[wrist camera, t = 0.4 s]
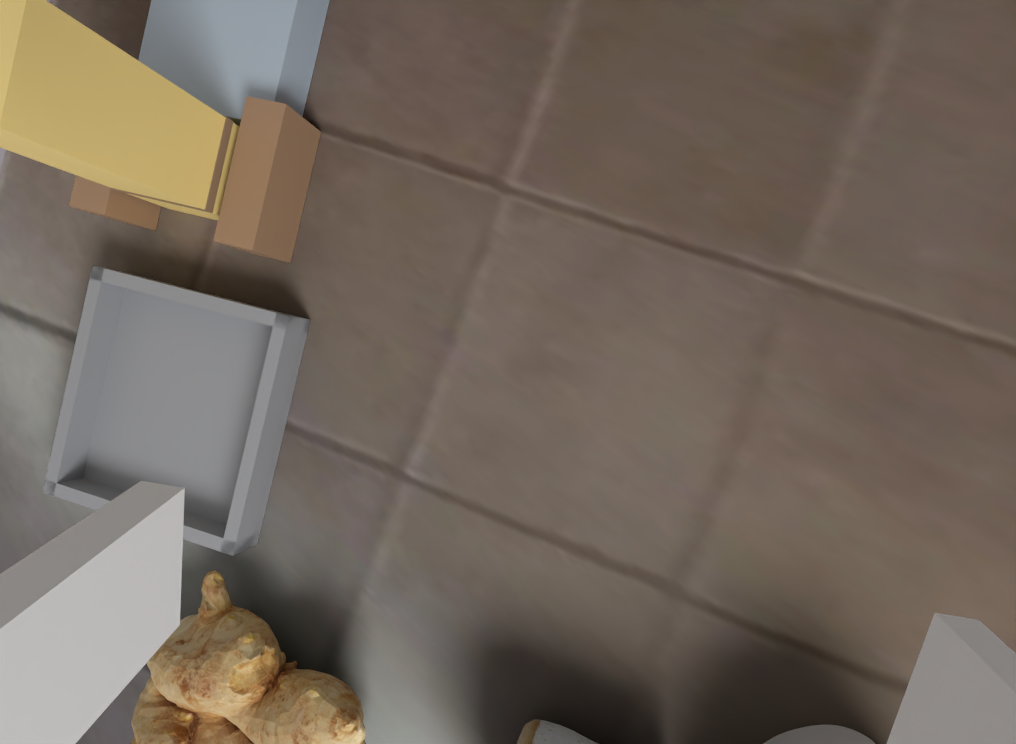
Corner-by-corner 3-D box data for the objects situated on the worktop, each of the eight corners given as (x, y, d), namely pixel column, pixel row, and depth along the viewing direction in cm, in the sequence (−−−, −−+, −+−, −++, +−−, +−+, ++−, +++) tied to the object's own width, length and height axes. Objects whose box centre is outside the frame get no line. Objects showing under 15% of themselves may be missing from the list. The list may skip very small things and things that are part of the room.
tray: (125, 272, 40) (92, 265, 37) (310, 319, 38) (288, 315, 35) (77, 485, 40) (42, 492, 38) (257, 544, 38) (232, 555, 36)
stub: (185, 129, 39) (-106, -36, 23) (273, 147, 38) (30, -13, 22) (167, 209, 39) (-134, 99, 24) (254, 229, 38) (0, 129, 23)
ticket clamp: (182, -45, 39) (134, -92, 35) (356, -18, 37) (325, -65, 33) (123, 222, 40) (68, 206, 36) (290, 263, 38) (252, 250, 34)
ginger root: (282, 515, 37) (210, 592, 29) (448, 712, 39) (422, 833, 31) (97, 647, 39) (-15, 750, 32) (261, 824, 42) (194, 961, 34)
